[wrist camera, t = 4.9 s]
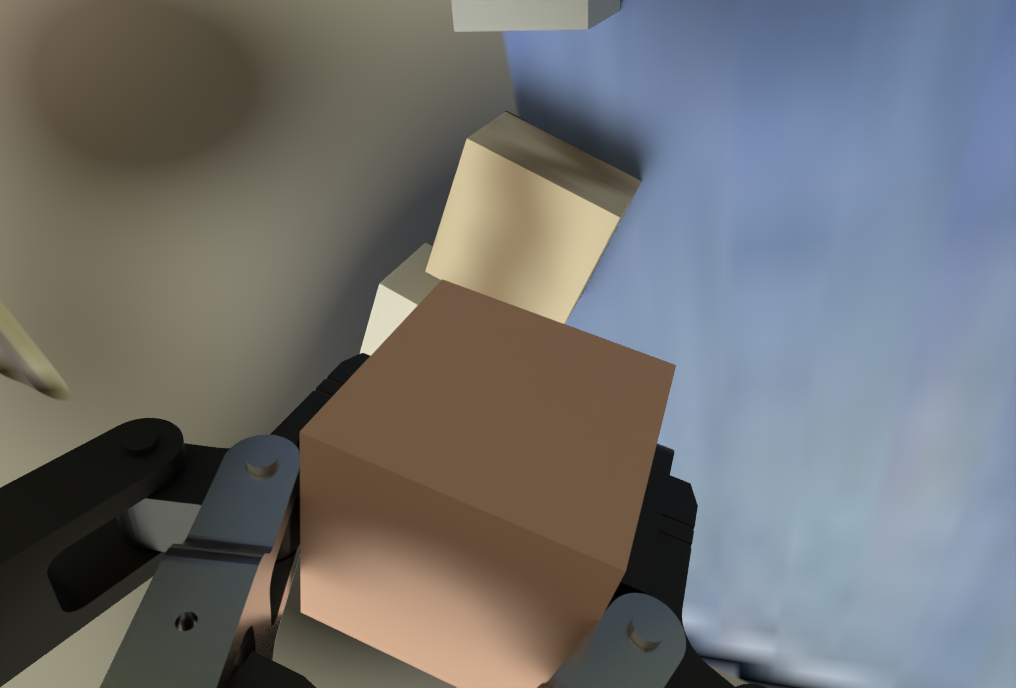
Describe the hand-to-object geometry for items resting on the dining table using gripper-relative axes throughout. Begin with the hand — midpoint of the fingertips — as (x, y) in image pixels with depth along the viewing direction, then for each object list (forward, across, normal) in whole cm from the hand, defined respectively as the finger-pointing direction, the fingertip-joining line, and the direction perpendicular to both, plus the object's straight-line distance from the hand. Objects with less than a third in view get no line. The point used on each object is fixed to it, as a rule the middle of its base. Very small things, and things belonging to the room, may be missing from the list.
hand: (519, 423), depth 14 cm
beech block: (+19, +4, +4) cm, 20 cm away
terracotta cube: (0, 0, 0) cm, 0 cm away
